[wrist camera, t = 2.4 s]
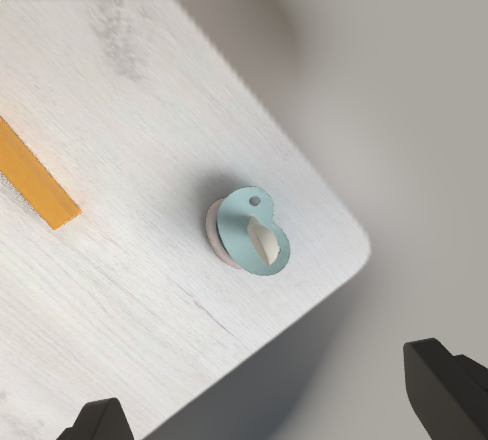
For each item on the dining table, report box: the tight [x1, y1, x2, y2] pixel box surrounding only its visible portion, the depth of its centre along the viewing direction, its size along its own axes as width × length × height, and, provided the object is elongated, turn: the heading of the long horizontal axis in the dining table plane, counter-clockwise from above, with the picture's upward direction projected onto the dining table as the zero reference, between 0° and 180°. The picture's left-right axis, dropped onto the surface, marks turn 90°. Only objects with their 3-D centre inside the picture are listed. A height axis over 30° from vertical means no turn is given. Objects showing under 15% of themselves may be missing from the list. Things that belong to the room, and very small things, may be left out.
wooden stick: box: [0, 116, 81, 230], centre depth 23 cm, size 12×2×2 cm, turn 33°
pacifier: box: [206, 186, 290, 276], centre depth 23 cm, size 7×6×6 cm
